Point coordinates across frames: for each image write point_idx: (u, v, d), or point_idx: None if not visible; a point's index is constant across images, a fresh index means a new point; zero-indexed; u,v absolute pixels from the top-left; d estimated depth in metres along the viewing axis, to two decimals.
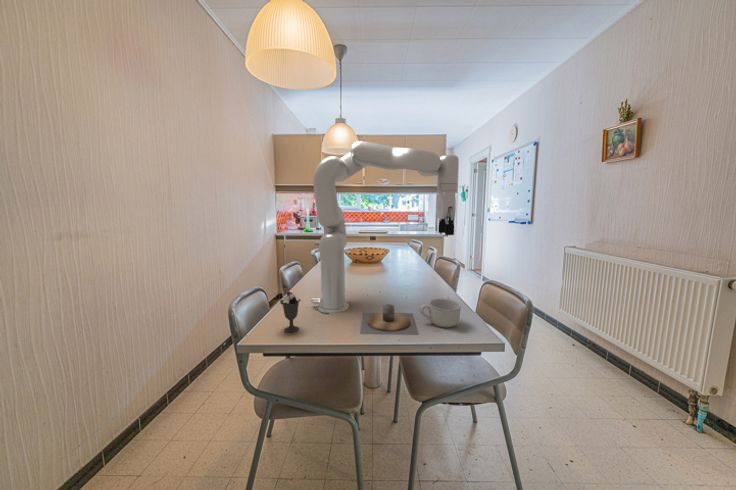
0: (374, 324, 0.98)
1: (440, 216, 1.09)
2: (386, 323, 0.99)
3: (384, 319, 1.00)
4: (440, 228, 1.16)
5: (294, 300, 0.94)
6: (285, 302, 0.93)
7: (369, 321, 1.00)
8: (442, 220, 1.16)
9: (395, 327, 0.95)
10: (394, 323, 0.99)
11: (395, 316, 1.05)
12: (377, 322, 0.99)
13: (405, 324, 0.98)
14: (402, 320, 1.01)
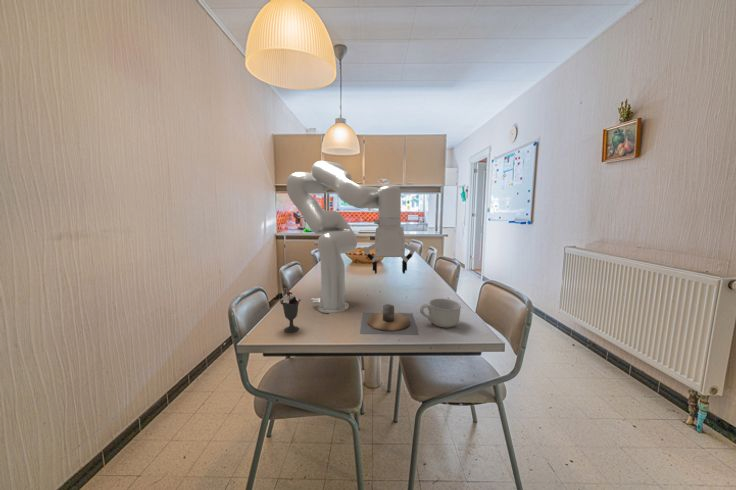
0: (374, 324, 0.98)
1: (396, 254, 0.96)
2: (386, 323, 0.99)
3: (384, 319, 1.00)
4: (376, 268, 0.98)
5: (294, 300, 0.94)
6: (285, 302, 0.93)
7: (369, 321, 1.00)
8: None
9: (395, 327, 0.95)
10: (394, 323, 0.99)
11: (395, 316, 1.05)
12: (377, 322, 0.99)
13: (405, 324, 0.98)
14: (402, 320, 1.01)
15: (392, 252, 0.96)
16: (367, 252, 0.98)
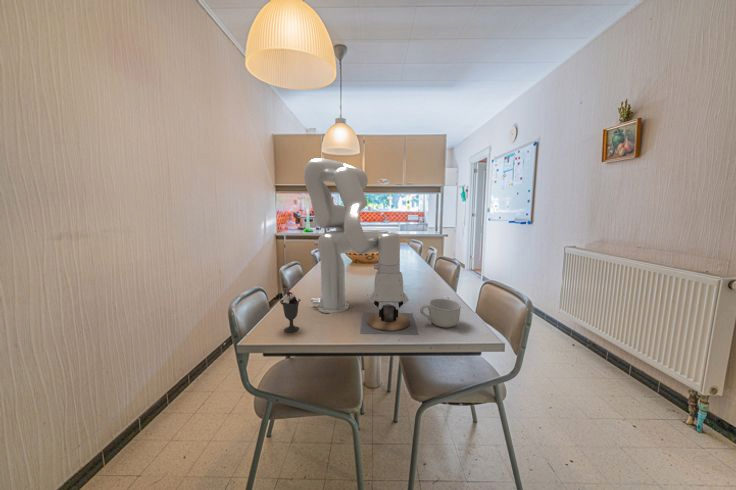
0: (374, 324, 0.98)
1: (394, 299, 0.98)
2: (386, 323, 0.99)
3: (384, 319, 1.00)
4: (382, 315, 1.01)
5: (294, 300, 0.94)
6: (285, 302, 0.93)
7: (369, 321, 1.00)
8: None
9: (395, 327, 0.95)
10: (394, 323, 0.99)
11: None
12: (377, 322, 0.99)
13: (405, 324, 0.98)
14: (402, 320, 1.01)
15: (391, 297, 0.98)
16: (372, 300, 1.00)
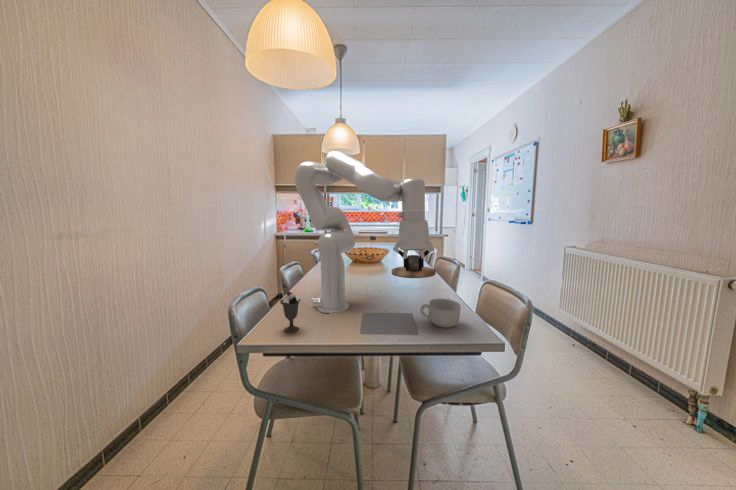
0: (399, 273, 0.95)
1: (420, 247, 0.95)
2: (412, 272, 0.96)
3: (409, 269, 0.97)
4: None
5: (294, 300, 0.94)
6: (285, 302, 0.93)
7: (394, 271, 0.97)
8: None
9: (422, 274, 0.92)
10: (420, 272, 0.96)
11: None
12: (402, 271, 0.97)
13: (431, 272, 0.95)
14: (428, 270, 0.98)
15: (416, 245, 0.95)
16: (397, 250, 0.98)
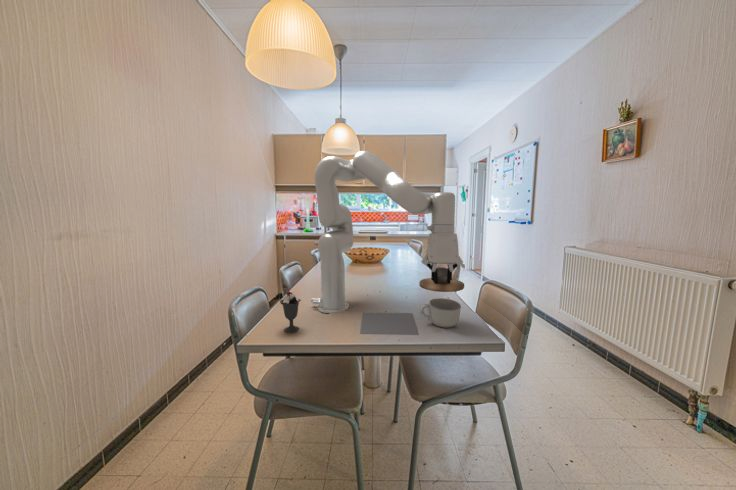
0: (429, 286, 0.95)
1: (449, 261, 0.95)
2: (441, 285, 0.96)
3: (438, 282, 0.98)
4: None
5: (294, 300, 0.94)
6: (285, 302, 0.93)
7: (422, 284, 0.98)
8: None
9: (452, 288, 0.93)
10: (449, 285, 0.96)
11: None
12: (431, 284, 0.97)
13: (461, 285, 0.95)
14: (456, 283, 0.99)
15: (446, 259, 0.95)
16: (426, 263, 0.98)
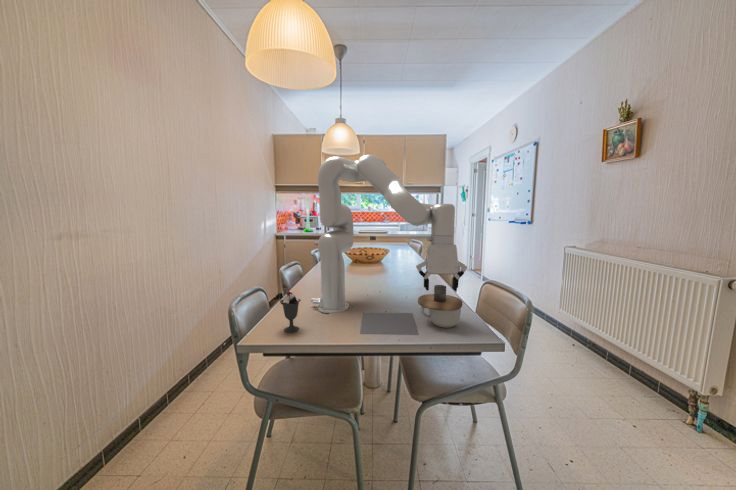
0: (427, 304, 0.96)
1: (449, 272, 0.96)
2: (439, 303, 0.97)
3: (436, 299, 0.99)
4: (428, 285, 0.99)
5: (294, 300, 0.94)
6: (285, 302, 0.93)
7: (421, 301, 0.99)
8: None
9: (450, 306, 0.93)
10: (447, 303, 0.97)
11: (445, 297, 1.03)
12: (429, 302, 0.98)
13: (459, 304, 0.96)
14: (454, 300, 0.99)
15: (445, 269, 0.96)
16: (419, 269, 0.98)
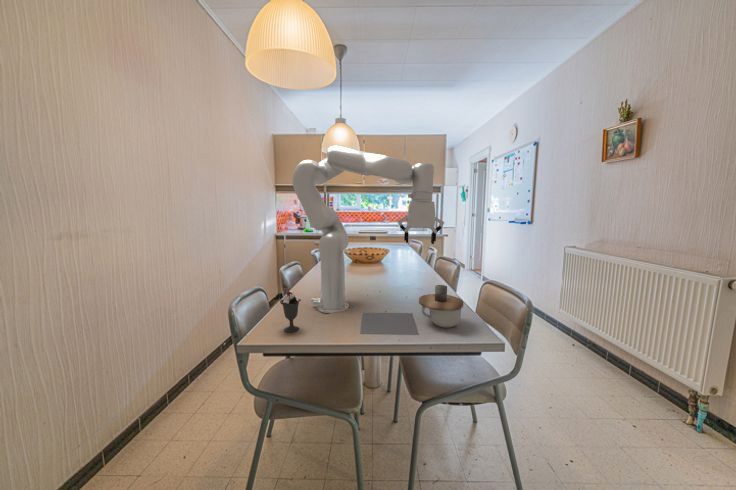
0: (428, 304, 0.96)
1: (426, 225, 1.05)
2: (440, 303, 0.97)
3: (437, 299, 0.99)
4: None
5: (294, 300, 0.94)
6: (285, 302, 0.93)
7: (422, 301, 0.99)
8: None
9: (451, 306, 0.93)
10: (448, 303, 0.97)
11: (446, 297, 1.03)
12: (430, 302, 0.98)
13: (460, 304, 0.96)
14: (455, 300, 0.99)
15: (423, 223, 1.05)
16: (400, 223, 1.08)
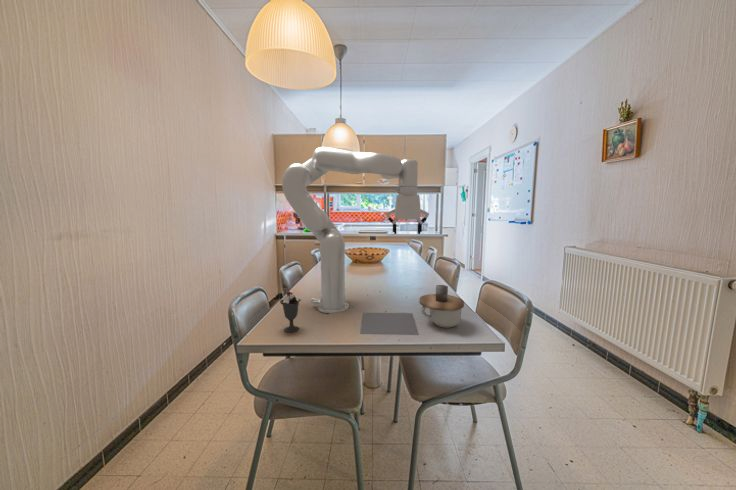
0: (429, 304, 0.96)
1: (413, 217, 1.14)
2: (441, 303, 0.97)
3: (438, 299, 0.98)
4: None
5: (294, 300, 0.94)
6: (285, 302, 0.93)
7: (422, 301, 0.98)
8: None
9: (452, 306, 0.93)
10: (449, 303, 0.97)
11: (447, 297, 1.03)
12: (431, 302, 0.98)
13: (461, 304, 0.96)
14: (456, 300, 0.99)
15: (410, 215, 1.14)
16: (388, 216, 1.16)
